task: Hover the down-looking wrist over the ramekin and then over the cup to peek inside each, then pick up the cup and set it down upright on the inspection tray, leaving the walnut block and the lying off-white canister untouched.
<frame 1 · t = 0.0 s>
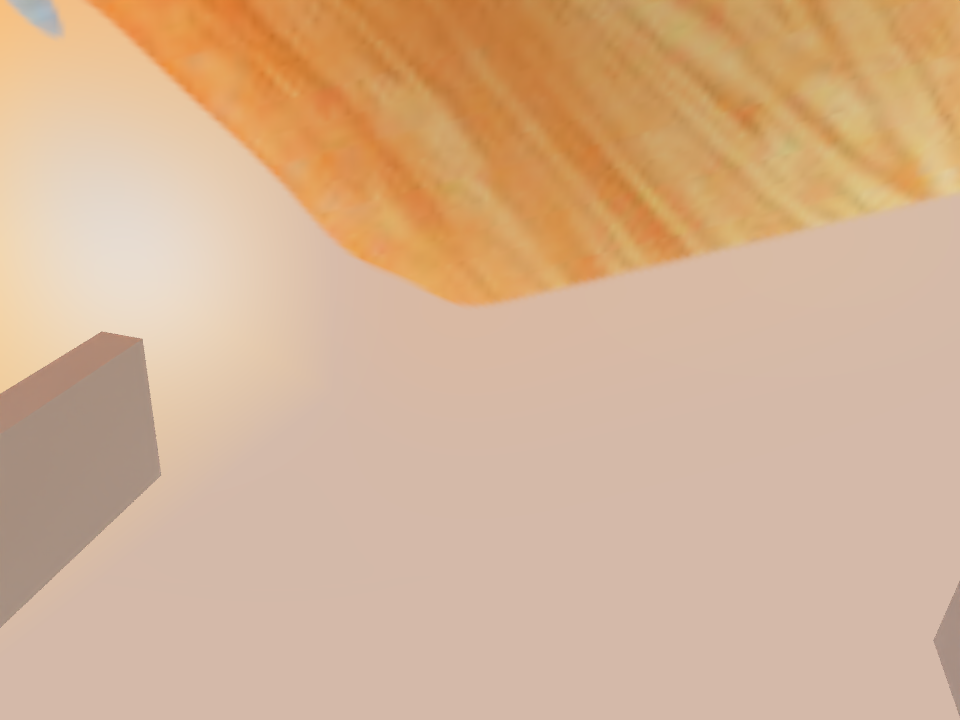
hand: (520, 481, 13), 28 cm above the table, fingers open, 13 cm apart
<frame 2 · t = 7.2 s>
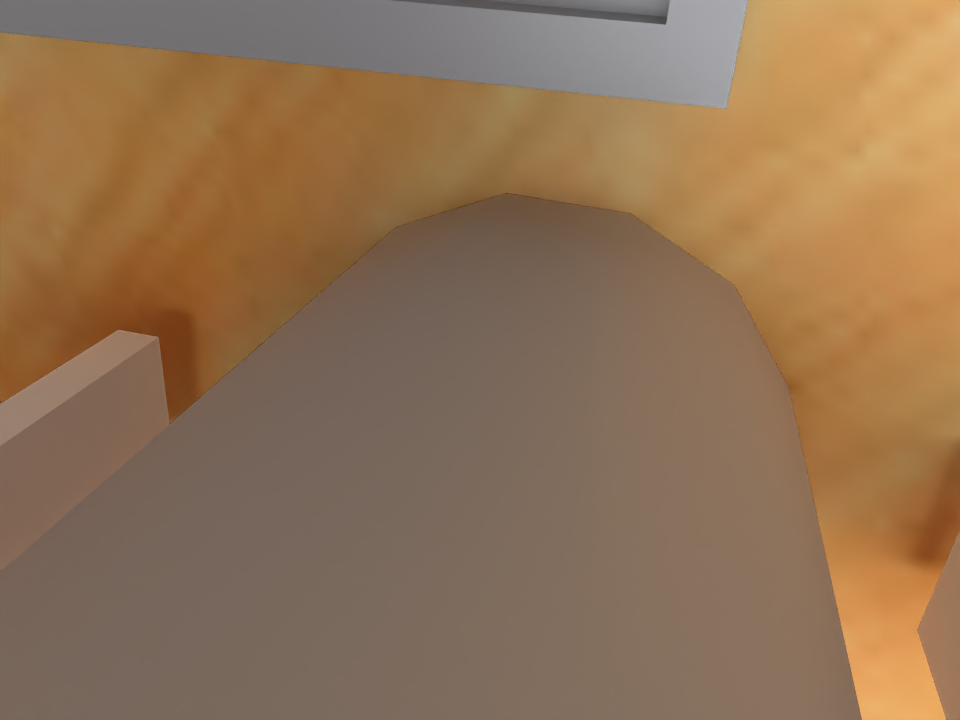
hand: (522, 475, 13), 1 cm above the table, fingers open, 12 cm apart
cup: (534, 429, 14), on the table
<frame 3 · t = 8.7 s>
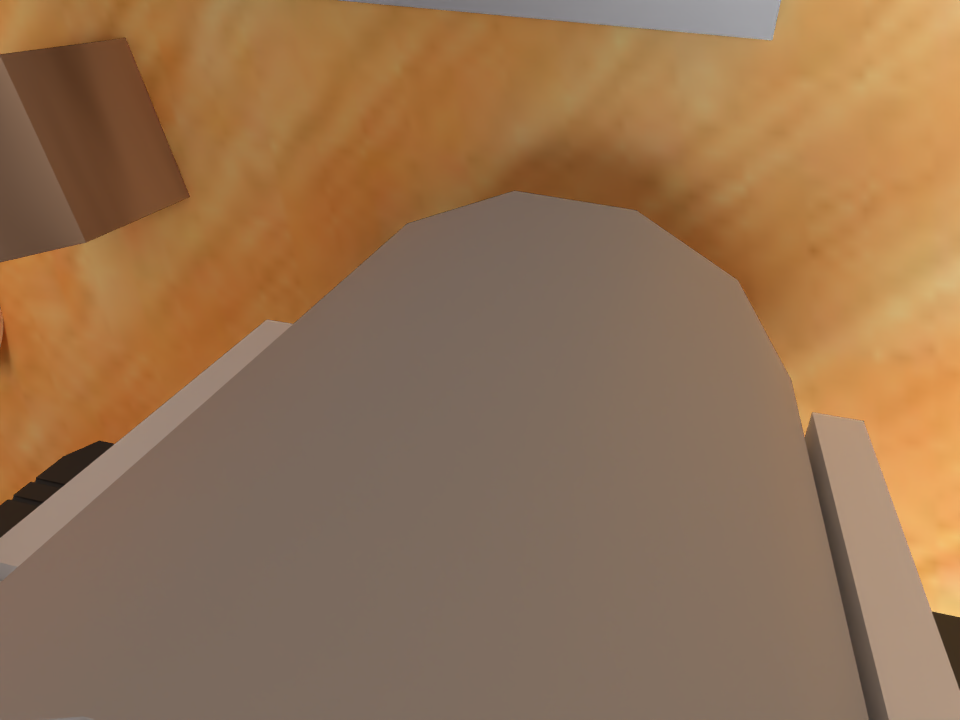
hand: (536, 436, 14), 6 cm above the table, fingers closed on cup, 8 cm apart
walnut block: (100, 137, 21), on the table
cup: (541, 423, 14), point 6 cm above the table, touching gripper
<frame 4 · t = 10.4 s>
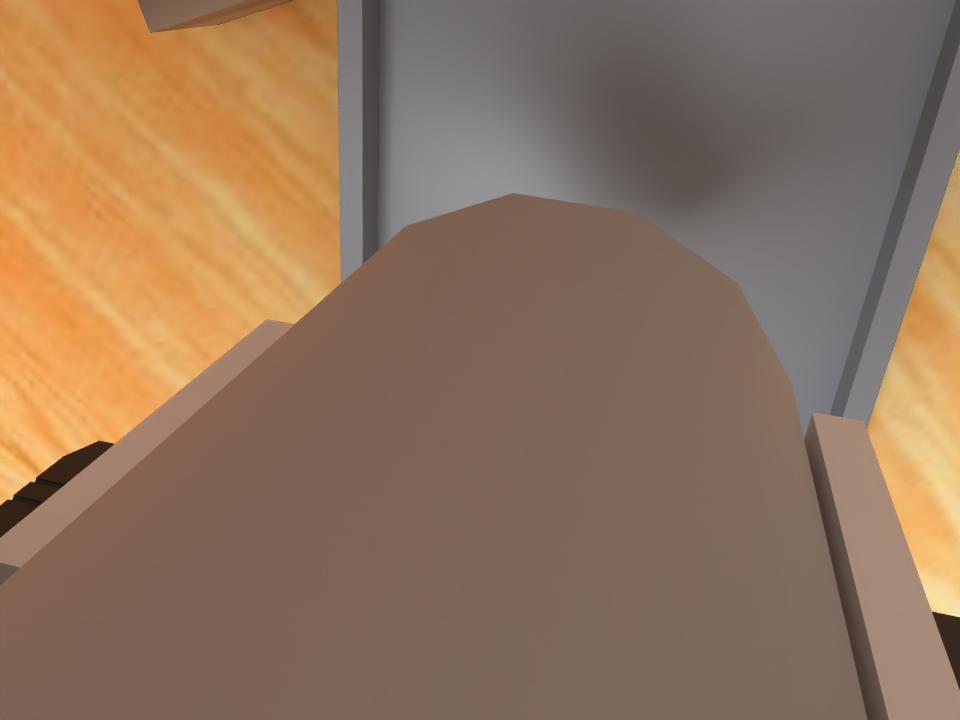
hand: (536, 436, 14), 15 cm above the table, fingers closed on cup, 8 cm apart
cup: (540, 425, 14), point 15 cm above the table, touching gripper
tray: (617, 206, 27), on the table
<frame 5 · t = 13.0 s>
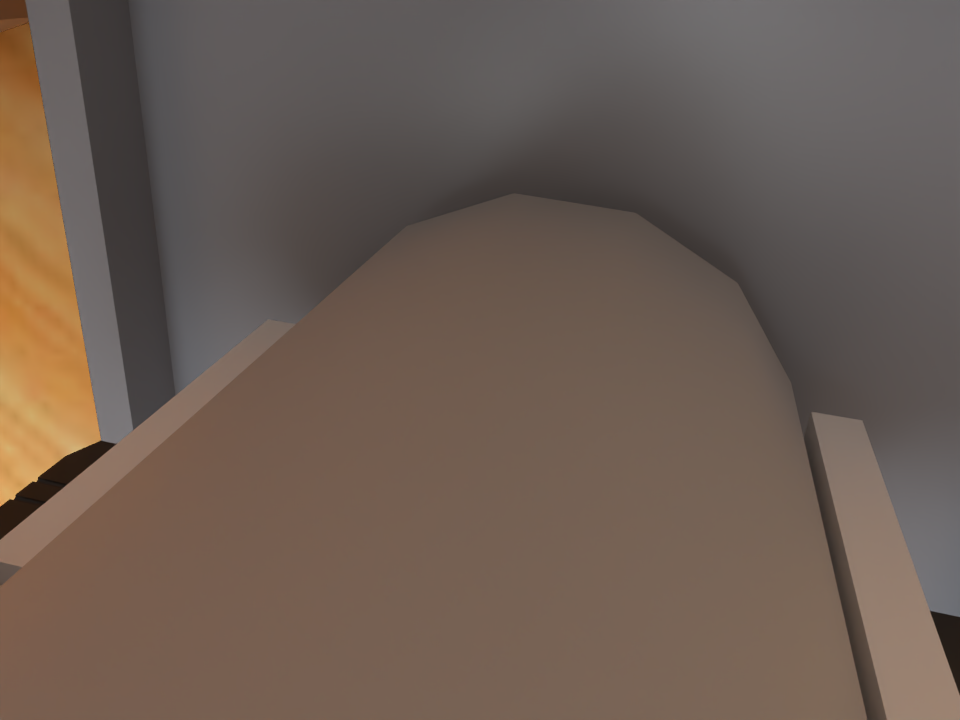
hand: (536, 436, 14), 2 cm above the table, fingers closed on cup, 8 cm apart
cup: (540, 425, 14), point 2 cm above the table, touching gripper
tray: (559, 380, 16), on the table
when the fingers open (2 cm above the table, at t = 13.1 s): cup drops 1 cm, resting on tray.
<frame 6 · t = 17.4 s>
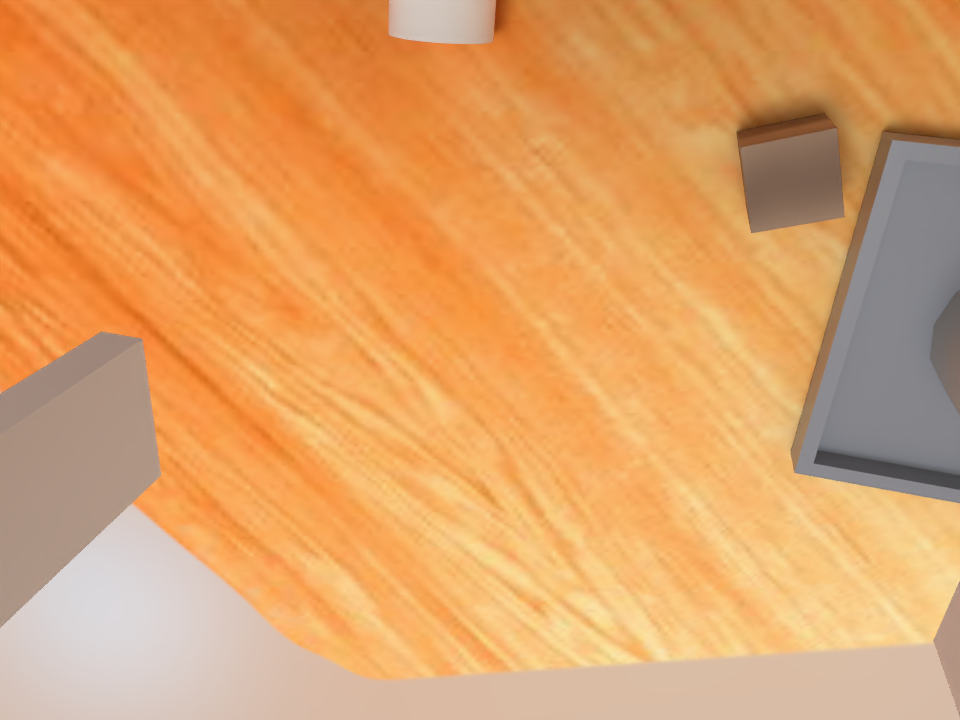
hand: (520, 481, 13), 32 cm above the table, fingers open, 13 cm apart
walnut block: (784, 163, 40), on the table
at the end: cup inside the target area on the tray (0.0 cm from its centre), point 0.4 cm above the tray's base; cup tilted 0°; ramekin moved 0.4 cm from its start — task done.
